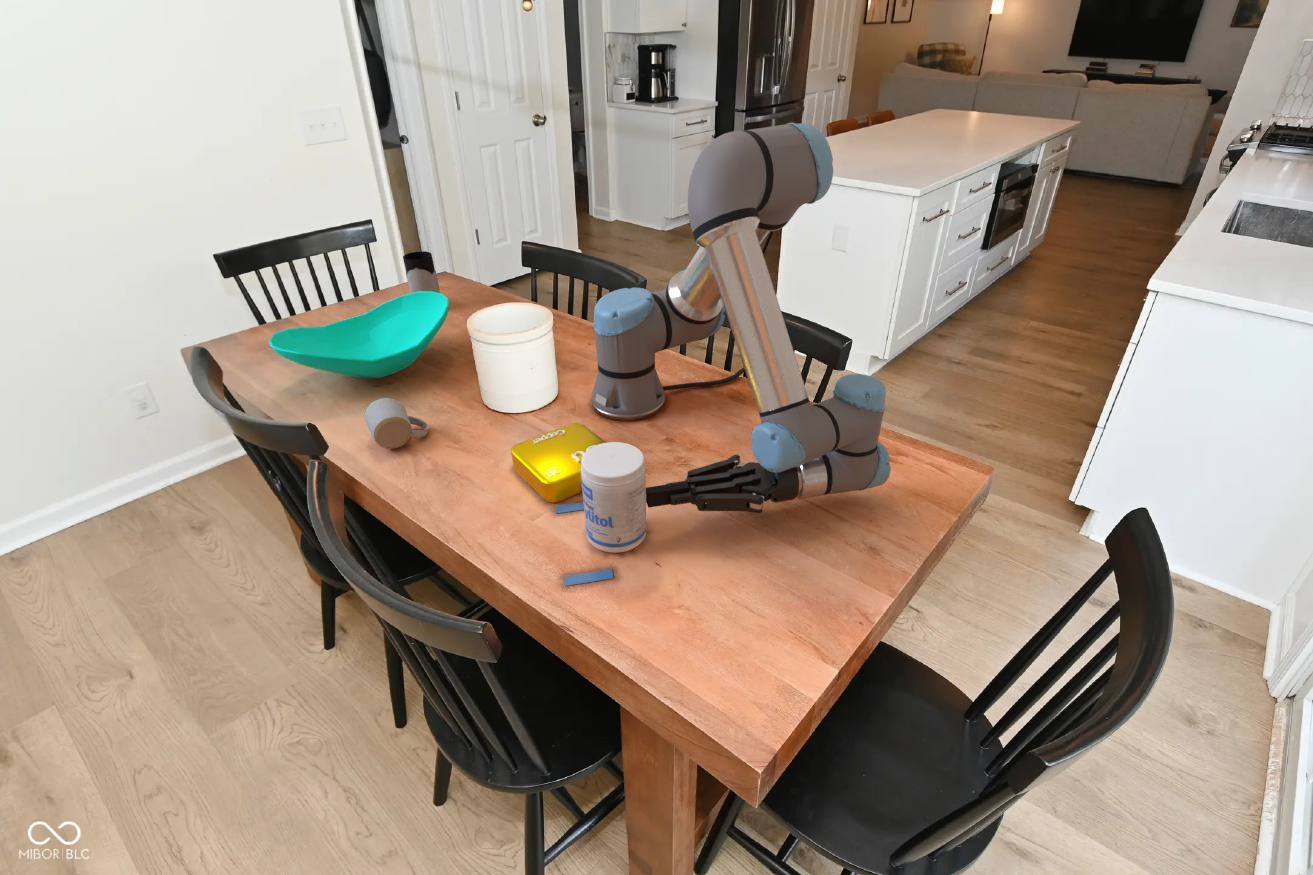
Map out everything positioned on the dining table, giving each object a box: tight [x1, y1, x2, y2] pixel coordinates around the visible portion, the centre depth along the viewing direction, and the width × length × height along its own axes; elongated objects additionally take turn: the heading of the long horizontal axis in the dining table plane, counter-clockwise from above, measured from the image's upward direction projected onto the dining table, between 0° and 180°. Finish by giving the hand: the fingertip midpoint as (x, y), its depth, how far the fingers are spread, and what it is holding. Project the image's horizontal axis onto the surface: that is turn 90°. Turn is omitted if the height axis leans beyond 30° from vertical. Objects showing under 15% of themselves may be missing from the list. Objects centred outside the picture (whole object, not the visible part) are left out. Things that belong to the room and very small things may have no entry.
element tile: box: [510, 422, 608, 503], centre depth 121 cm, size 15×15×5 cm
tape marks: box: [555, 501, 615, 587], centre depth 107 cm, size 7×19×1 cm, turn 11°
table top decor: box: [268, 291, 450, 380], centre depth 155 cm, size 40×28×13 cm
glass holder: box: [402, 250, 441, 294], centre depth 190 cm, size 9×14×15 cm, turn 5°
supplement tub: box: [581, 441, 648, 554], centre depth 103 cm, size 10×10×15 cm
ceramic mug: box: [364, 397, 429, 450], centre depth 131 cm, size 11×8×8 cm
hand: (647, 497), depth 105 cm, fingers closed
